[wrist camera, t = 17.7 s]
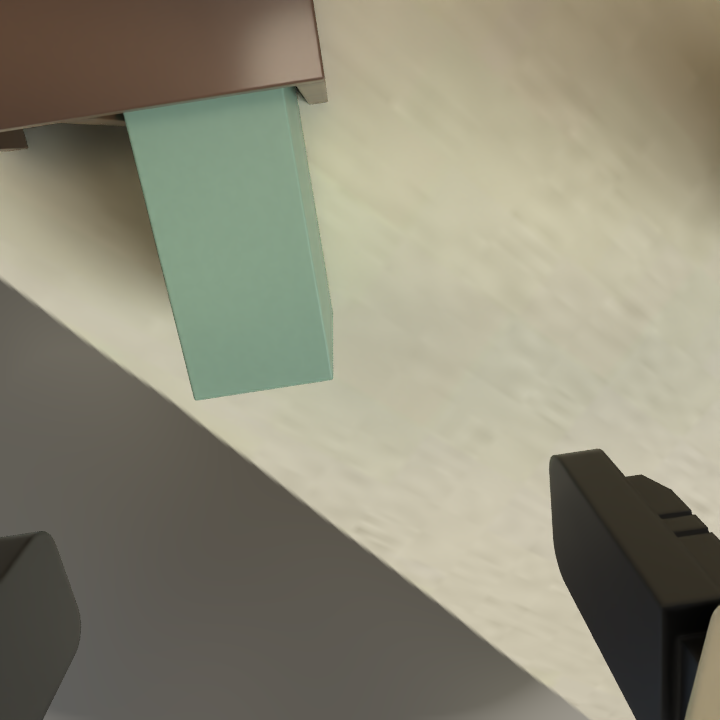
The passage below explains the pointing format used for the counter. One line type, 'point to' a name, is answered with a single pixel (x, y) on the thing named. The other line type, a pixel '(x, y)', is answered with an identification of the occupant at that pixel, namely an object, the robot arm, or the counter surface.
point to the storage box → (237, 240)
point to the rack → (147, 57)
